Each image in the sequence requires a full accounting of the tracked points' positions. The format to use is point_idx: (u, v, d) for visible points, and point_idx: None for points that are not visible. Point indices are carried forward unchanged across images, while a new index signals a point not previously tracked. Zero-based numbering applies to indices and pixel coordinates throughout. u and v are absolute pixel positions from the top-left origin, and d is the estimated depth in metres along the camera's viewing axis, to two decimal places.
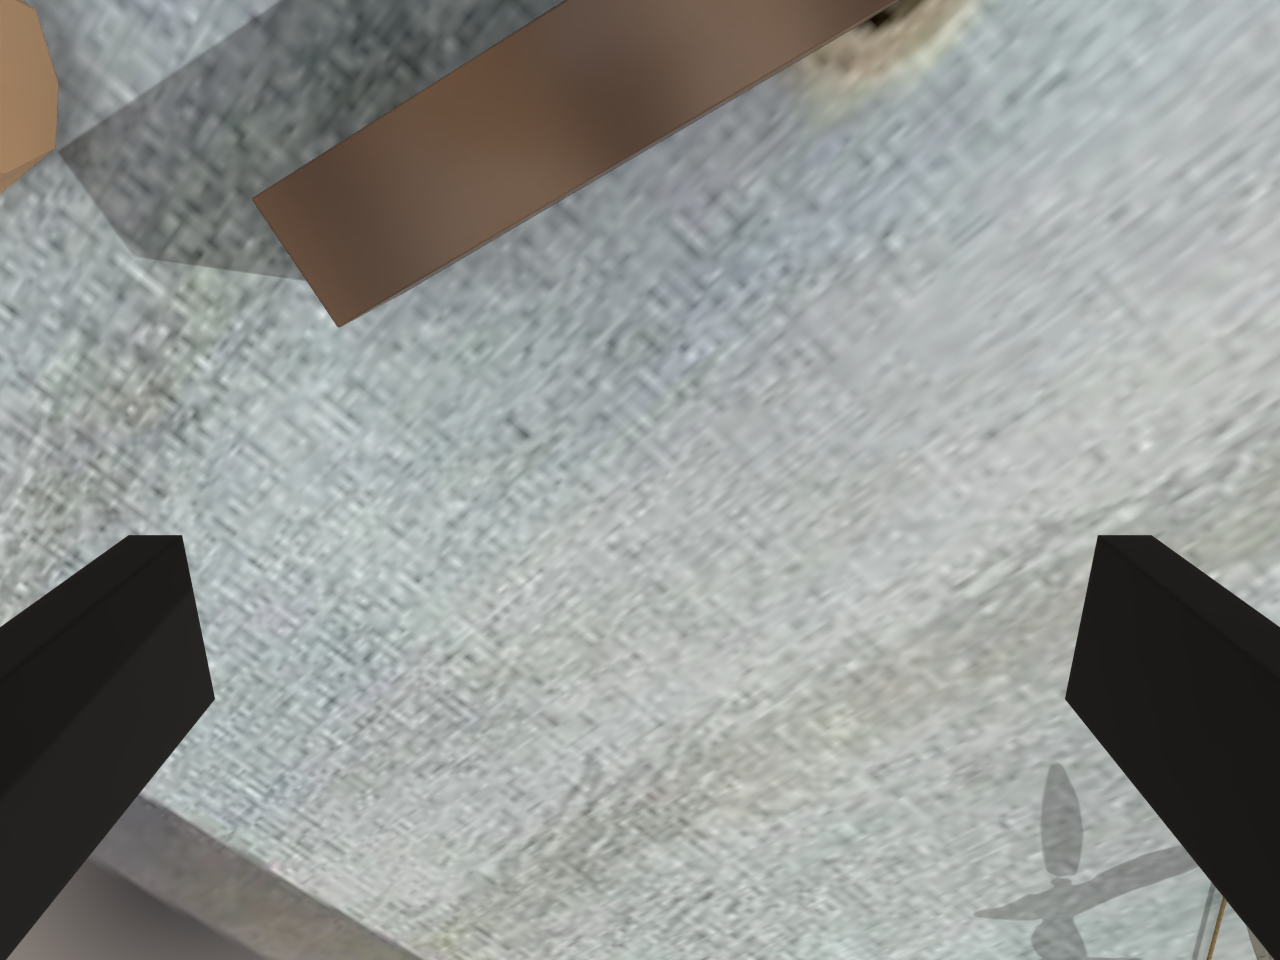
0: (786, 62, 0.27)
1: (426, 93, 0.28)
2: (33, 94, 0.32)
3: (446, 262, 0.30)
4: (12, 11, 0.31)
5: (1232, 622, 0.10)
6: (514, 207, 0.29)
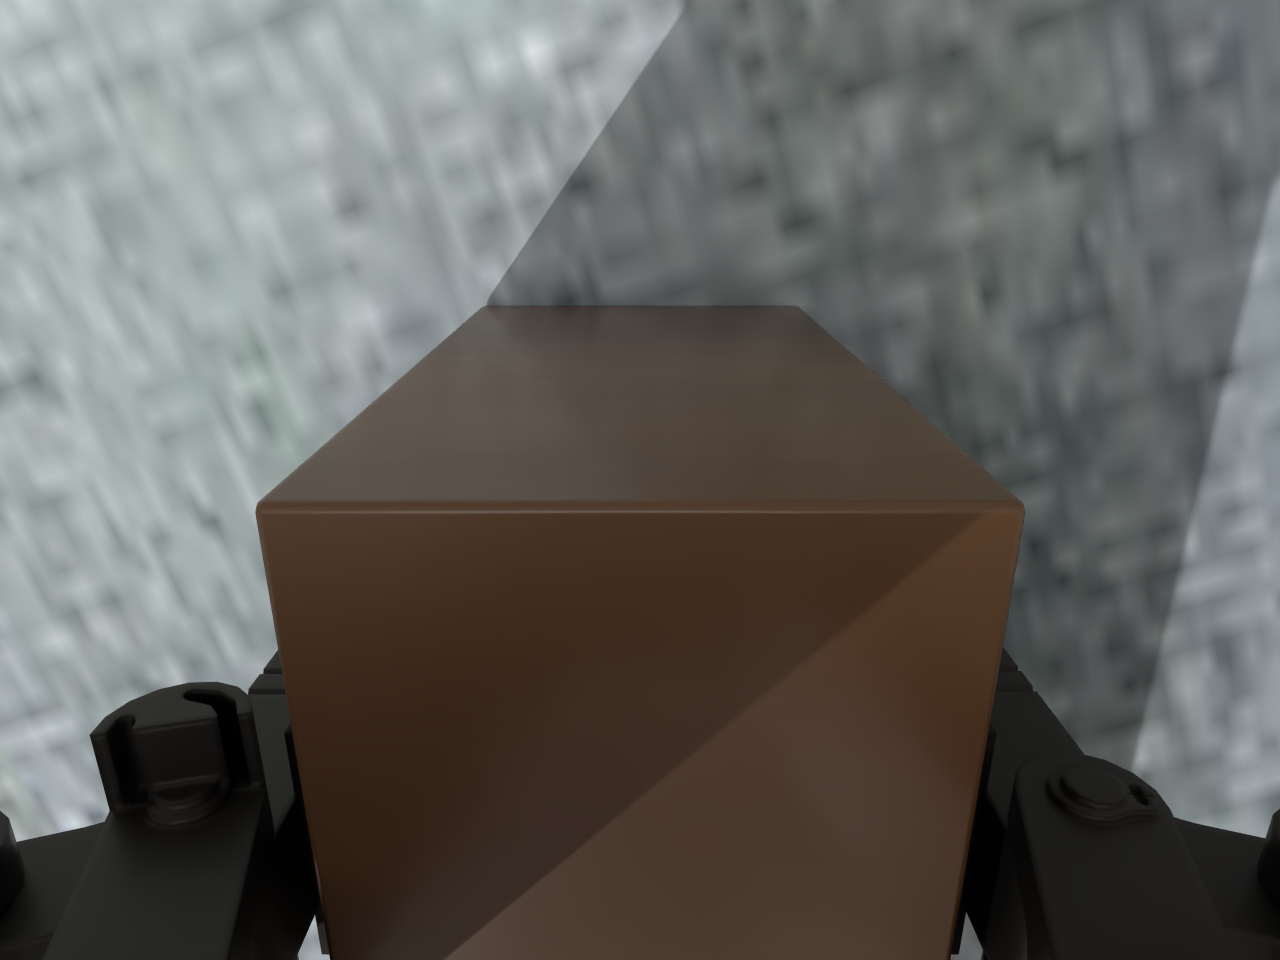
0: None
1: None
2: None
3: None
4: None
5: None
6: None
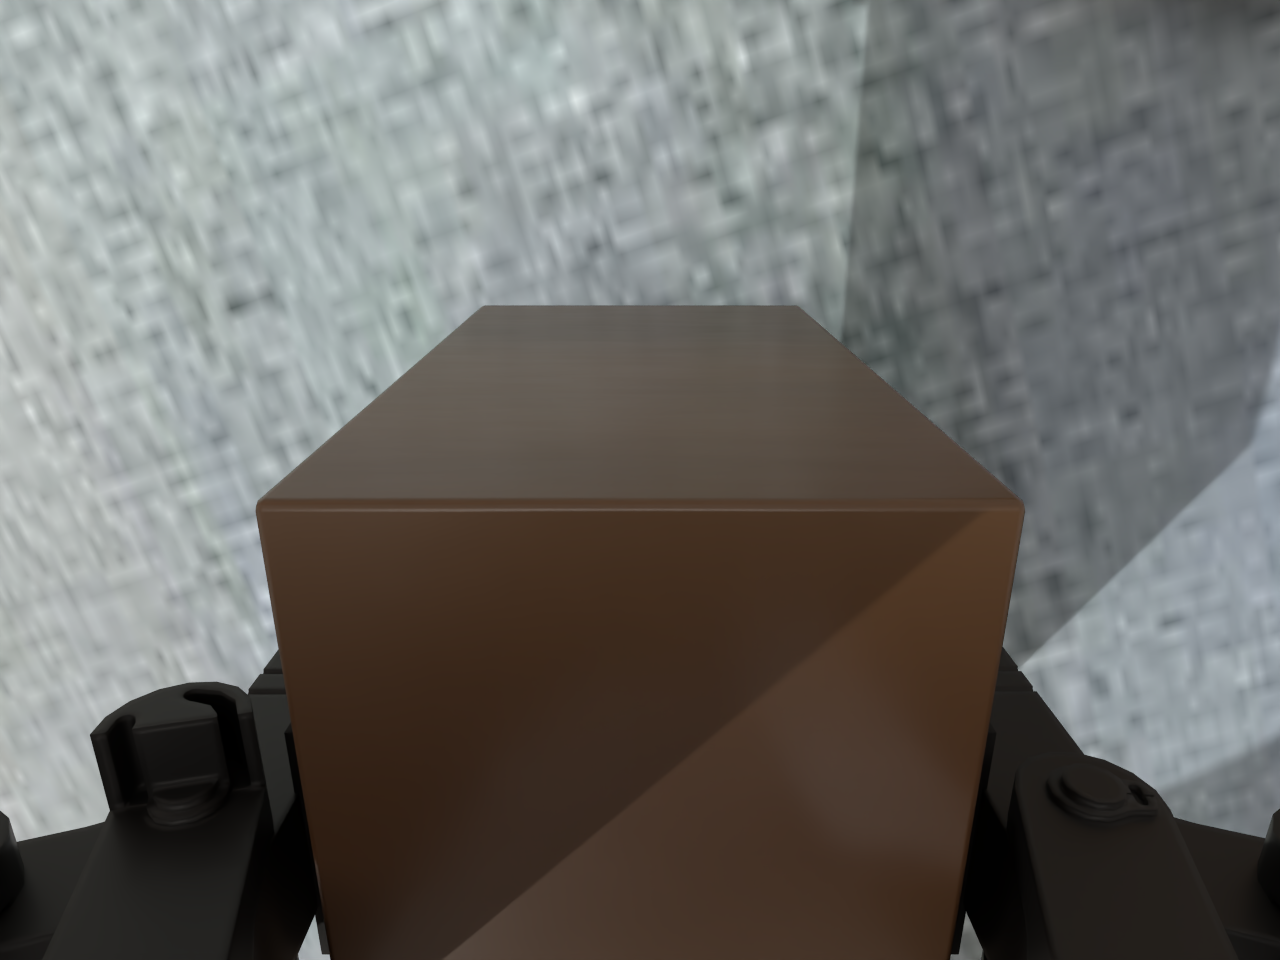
0: None
1: None
2: None
3: None
4: None
5: None
6: None
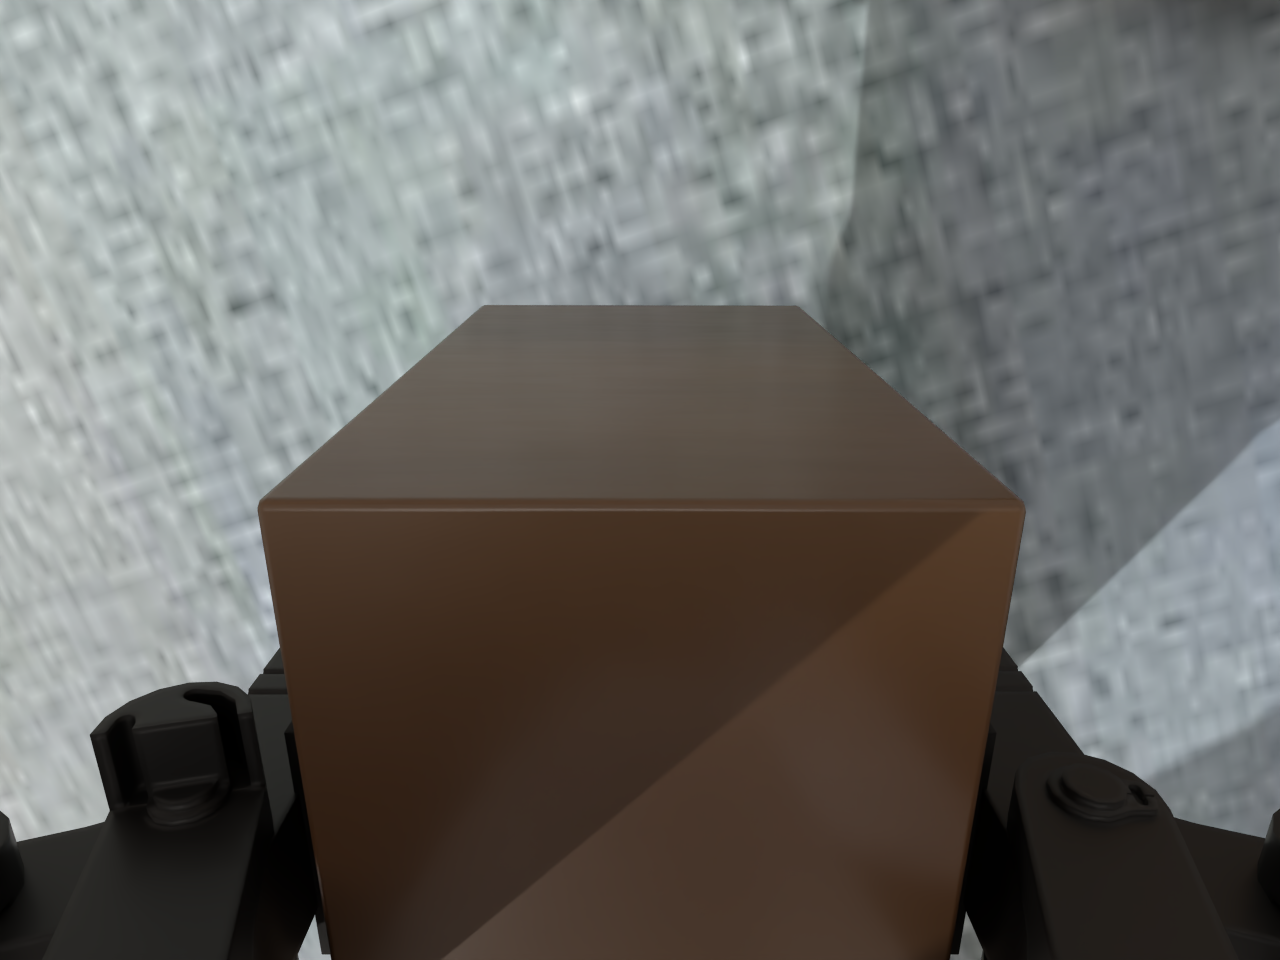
0: None
1: None
2: None
3: None
4: None
5: None
6: None
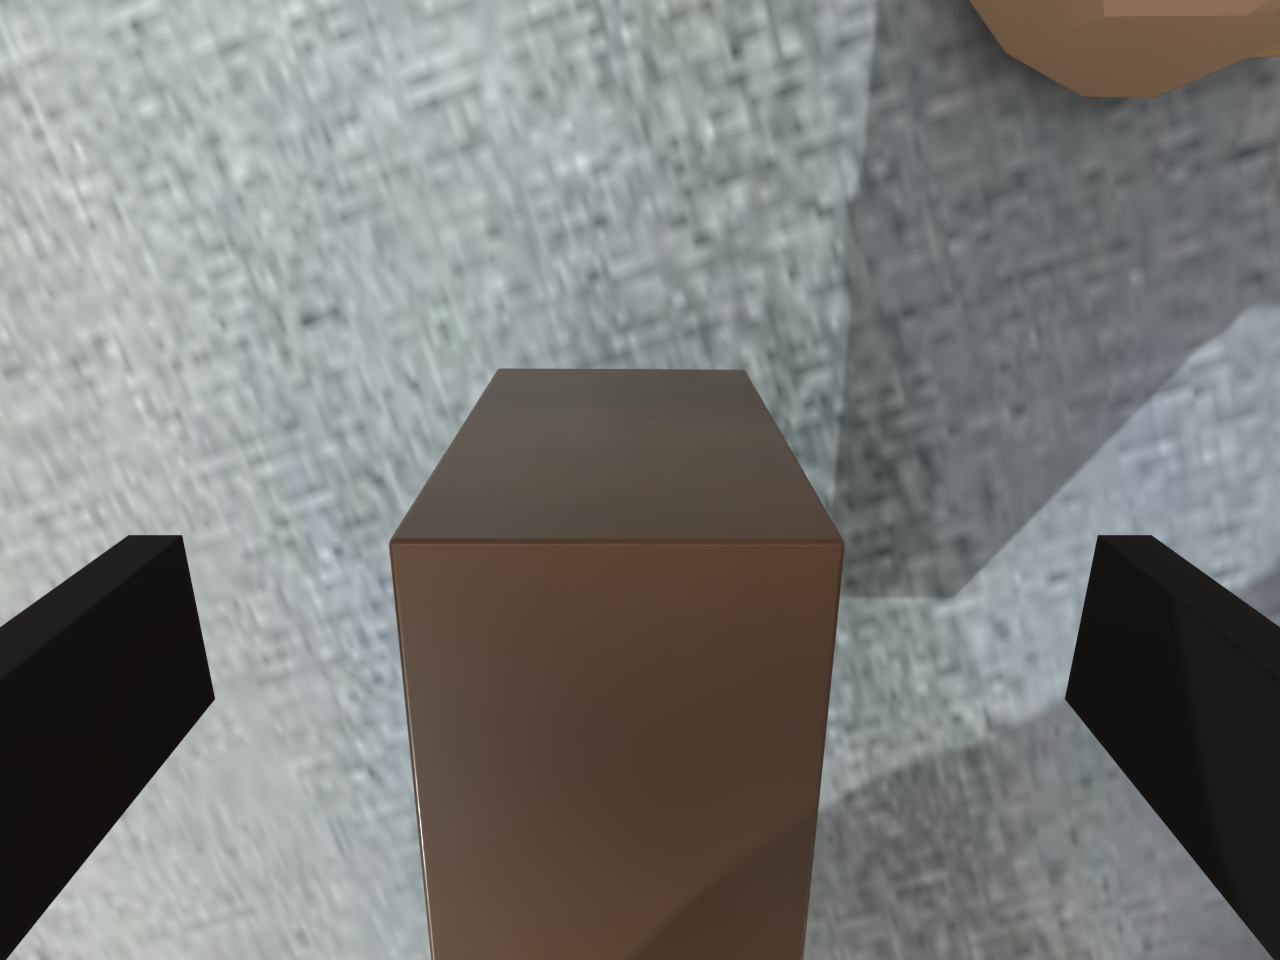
0: None
1: None
2: (1015, 39, 0.23)
3: (425, 872, 0.11)
4: (1099, 90, 0.23)
5: (1232, 622, 0.10)
6: None
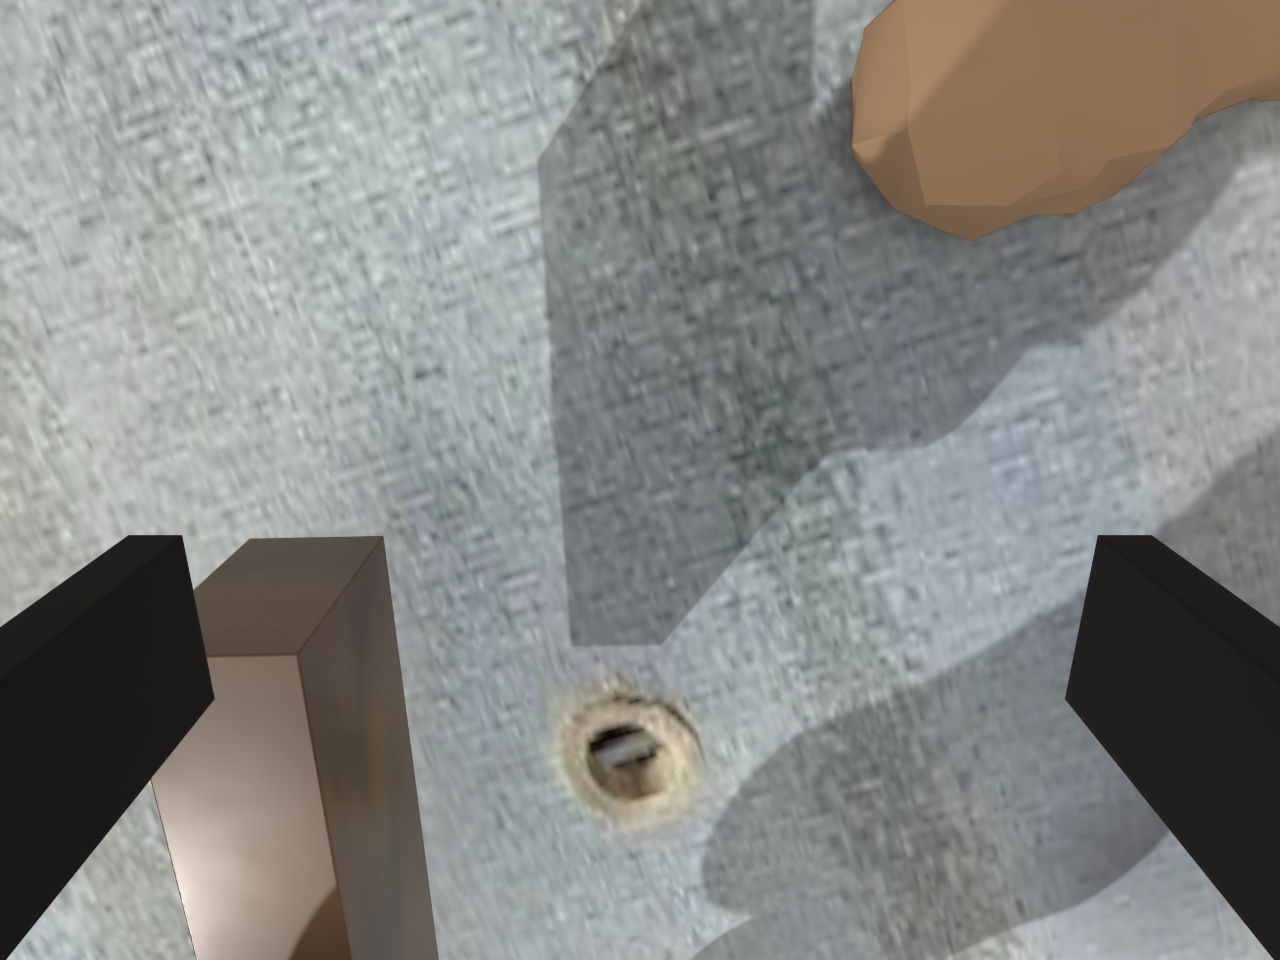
0: None
1: (327, 856, 0.26)
2: (888, 200, 0.35)
3: (155, 794, 0.25)
4: (945, 231, 0.36)
5: (1232, 622, 0.10)
6: (189, 875, 0.26)
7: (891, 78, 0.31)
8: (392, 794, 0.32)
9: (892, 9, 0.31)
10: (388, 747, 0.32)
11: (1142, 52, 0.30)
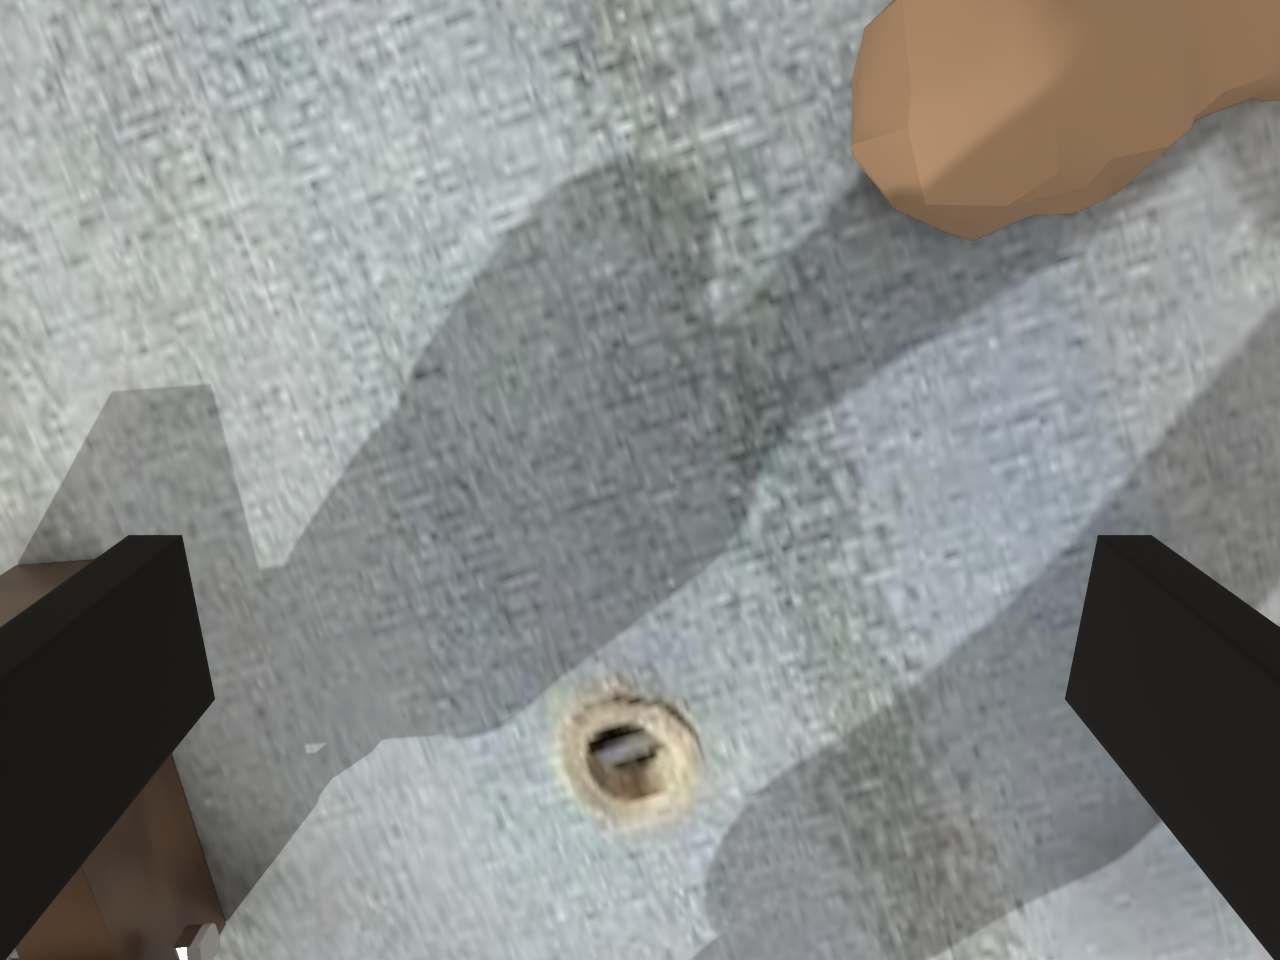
0: None
1: None
2: (888, 200, 0.35)
3: None
4: (945, 231, 0.36)
5: (1232, 622, 0.10)
6: None
7: (891, 78, 0.31)
8: None
9: (892, 9, 0.31)
10: None
11: (1142, 52, 0.30)
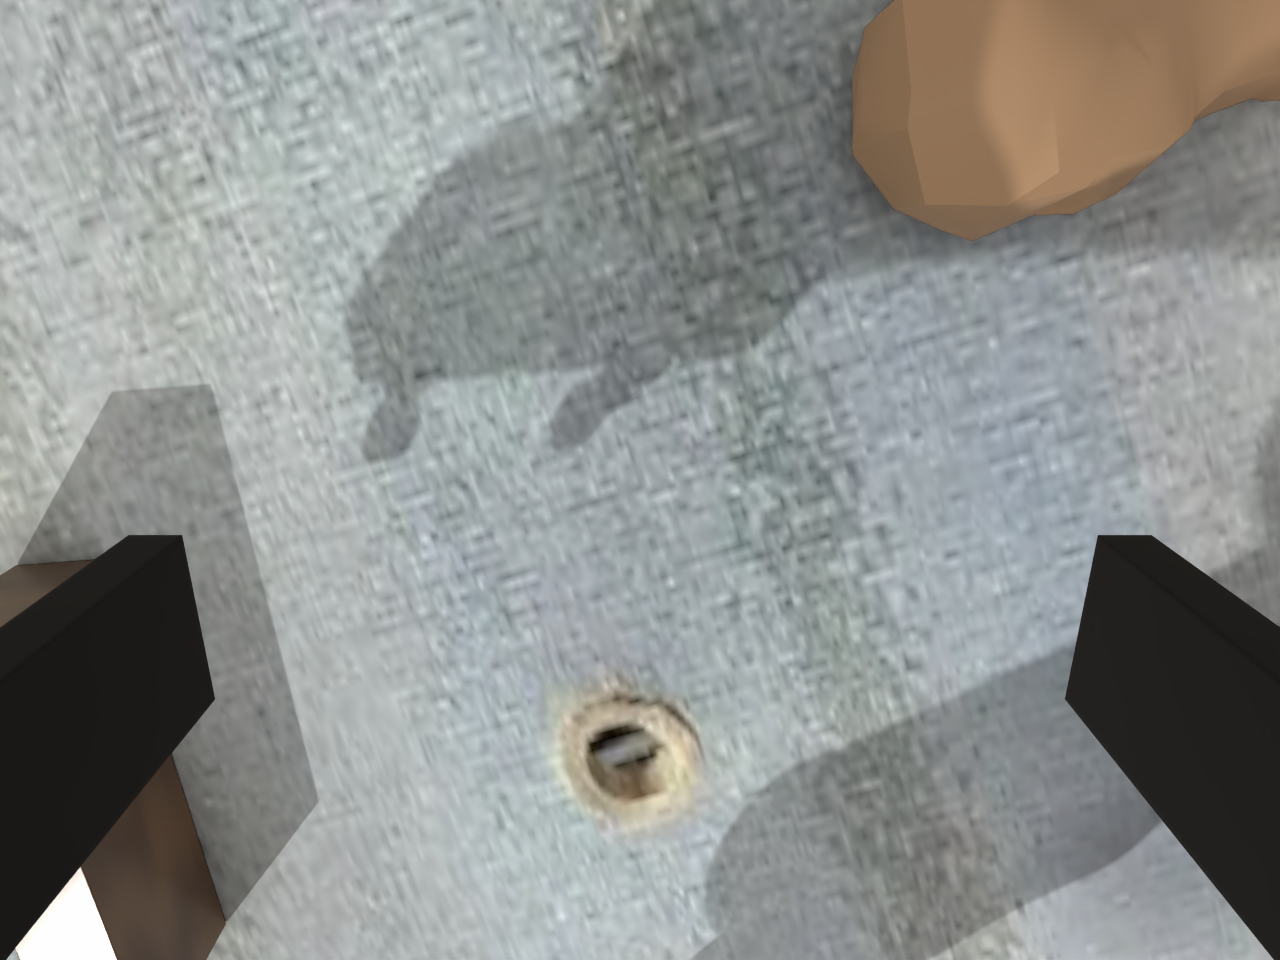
0: None
1: None
2: (888, 200, 0.35)
3: None
4: (945, 231, 0.36)
5: (1232, 622, 0.10)
6: None
7: (891, 78, 0.31)
8: None
9: (892, 9, 0.31)
10: None
11: (1142, 52, 0.30)
